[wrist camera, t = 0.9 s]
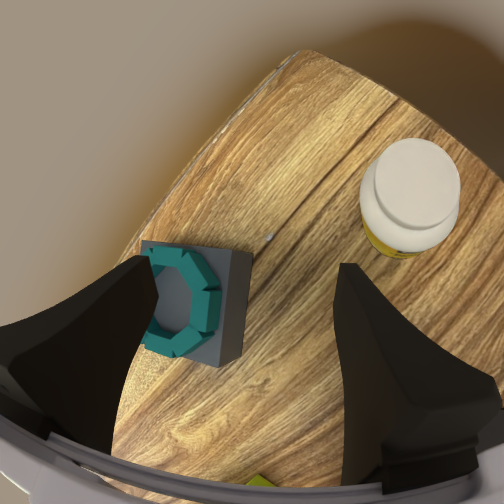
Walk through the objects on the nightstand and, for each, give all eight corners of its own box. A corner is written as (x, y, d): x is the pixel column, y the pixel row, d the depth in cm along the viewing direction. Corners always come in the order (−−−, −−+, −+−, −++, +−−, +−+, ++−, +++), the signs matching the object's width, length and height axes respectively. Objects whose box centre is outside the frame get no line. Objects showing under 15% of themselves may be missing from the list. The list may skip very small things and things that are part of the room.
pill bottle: (370, 266, 24) (370, 257, 14) (356, 193, 25) (341, 135, 14) (441, 252, 22) (489, 233, 11) (424, 179, 23) (451, 115, 12)
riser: (241, 356, 28) (218, 368, 24) (160, 333, 32) (132, 339, 28) (253, 253, 28) (232, 249, 24) (169, 244, 32) (141, 240, 28)
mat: (500, 484, 15) (500, 485, 15) (425, 488, 19) (425, 491, 19) (536, 406, 15) (538, 407, 15) (460, 408, 19) (461, 410, 19)
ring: (214, 362, 24) (202, 368, 22) (135, 336, 28) (121, 339, 26) (227, 253, 24) (214, 252, 23) (144, 244, 28) (129, 242, 26)
